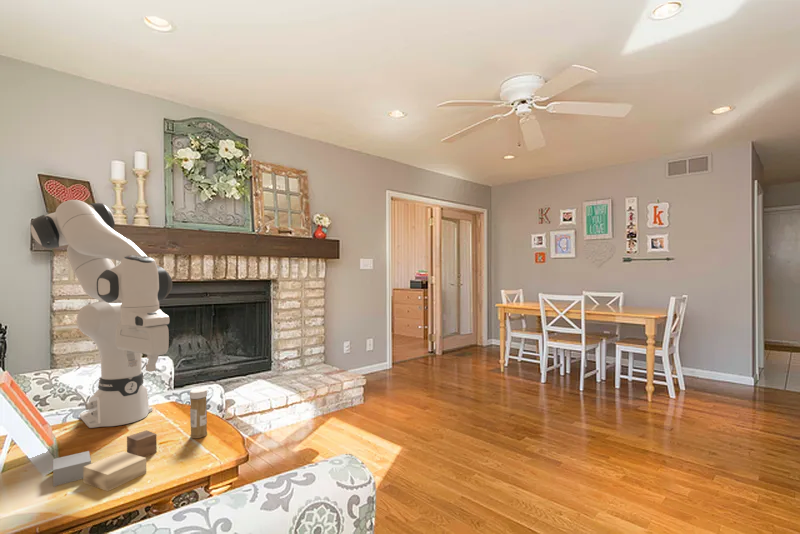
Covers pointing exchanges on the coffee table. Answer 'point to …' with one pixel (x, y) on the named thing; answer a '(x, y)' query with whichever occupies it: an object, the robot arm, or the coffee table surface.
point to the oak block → (114, 470)
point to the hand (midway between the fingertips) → (141, 368)
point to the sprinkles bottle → (198, 413)
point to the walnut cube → (142, 443)
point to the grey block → (70, 467)
